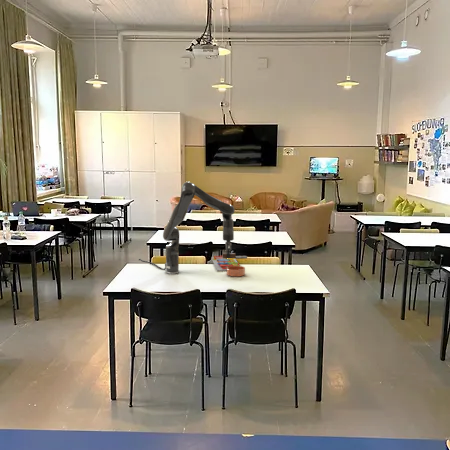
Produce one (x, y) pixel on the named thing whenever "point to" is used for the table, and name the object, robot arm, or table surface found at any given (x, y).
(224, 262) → the gear board
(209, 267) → the table surface
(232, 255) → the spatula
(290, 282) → the table surface
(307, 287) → the table surface
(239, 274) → the bowl
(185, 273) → the table surface
